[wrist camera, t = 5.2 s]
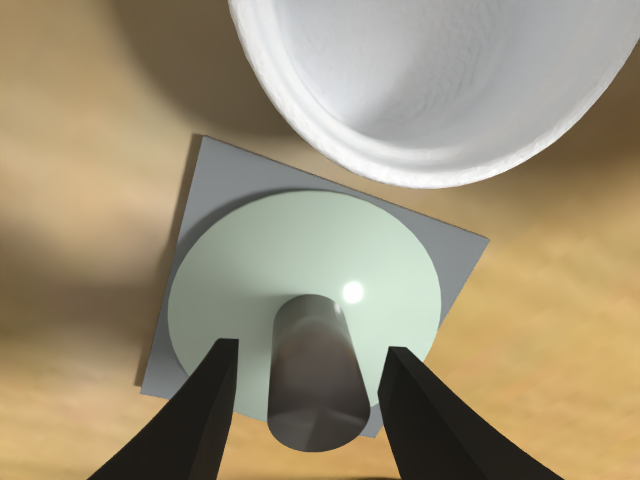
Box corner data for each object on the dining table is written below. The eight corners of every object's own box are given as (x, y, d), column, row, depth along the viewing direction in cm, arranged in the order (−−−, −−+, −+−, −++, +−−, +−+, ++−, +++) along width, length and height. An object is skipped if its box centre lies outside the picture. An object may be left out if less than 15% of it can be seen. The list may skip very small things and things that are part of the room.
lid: (466, 206, 12) (567, 257, 8) (402, 415, 15) (446, 529, 11) (170, 170, 10) (89, 209, 6) (174, 410, 14) (126, 539, 10)
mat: (484, 236, 13) (490, 240, 12) (372, 430, 16) (375, 438, 16) (206, 135, 11) (203, 136, 10) (143, 386, 14) (140, 393, 14)
